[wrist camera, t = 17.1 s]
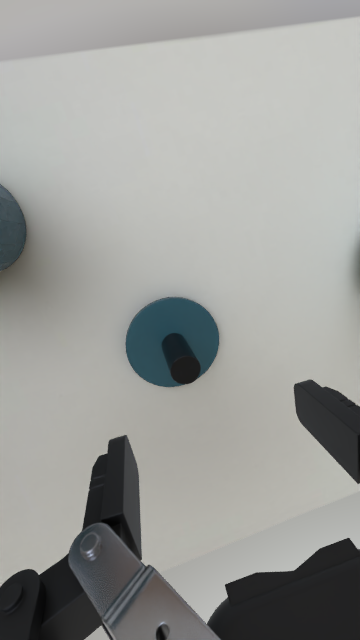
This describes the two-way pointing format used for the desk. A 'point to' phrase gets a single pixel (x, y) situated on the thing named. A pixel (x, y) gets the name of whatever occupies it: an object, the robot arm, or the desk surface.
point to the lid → (172, 342)
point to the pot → (10, 229)
